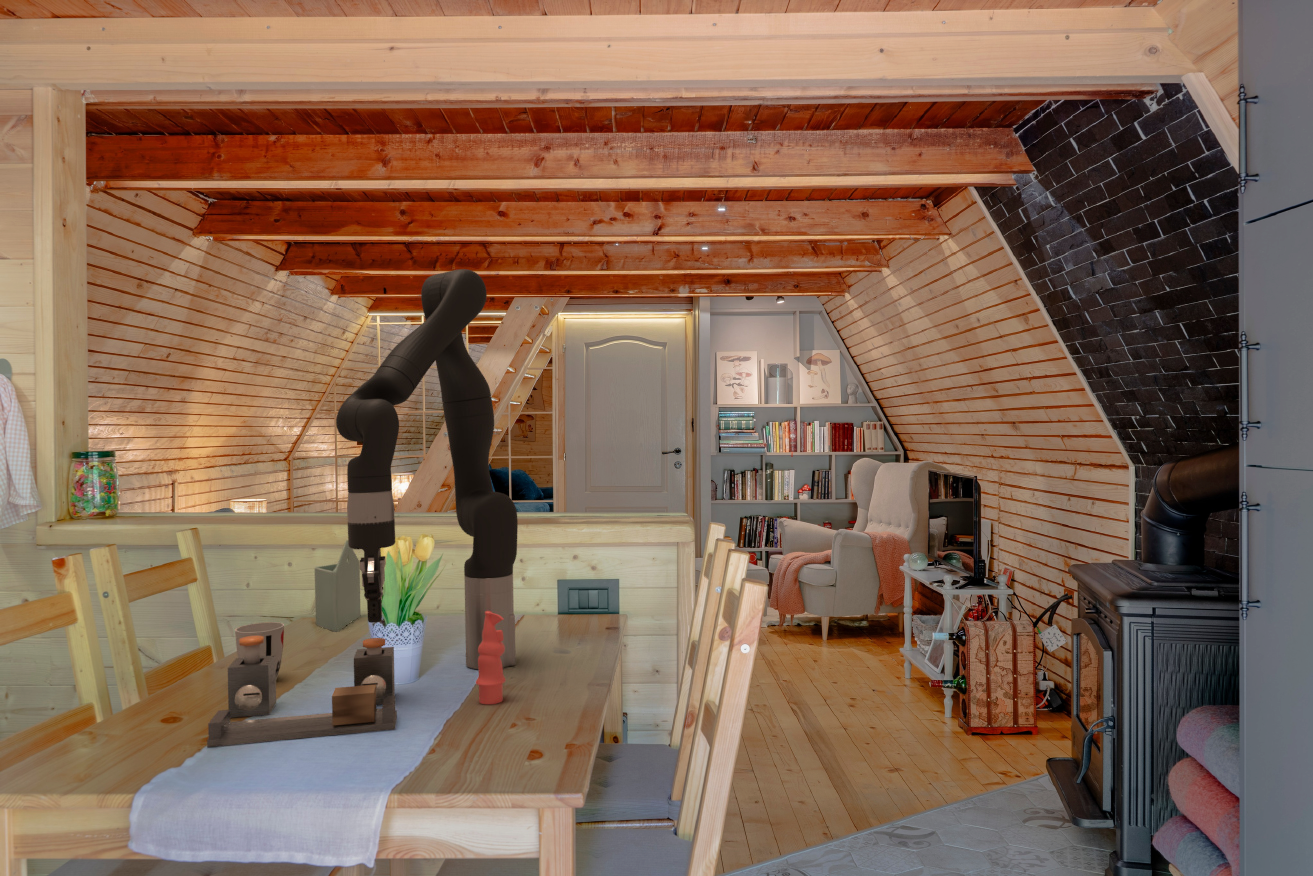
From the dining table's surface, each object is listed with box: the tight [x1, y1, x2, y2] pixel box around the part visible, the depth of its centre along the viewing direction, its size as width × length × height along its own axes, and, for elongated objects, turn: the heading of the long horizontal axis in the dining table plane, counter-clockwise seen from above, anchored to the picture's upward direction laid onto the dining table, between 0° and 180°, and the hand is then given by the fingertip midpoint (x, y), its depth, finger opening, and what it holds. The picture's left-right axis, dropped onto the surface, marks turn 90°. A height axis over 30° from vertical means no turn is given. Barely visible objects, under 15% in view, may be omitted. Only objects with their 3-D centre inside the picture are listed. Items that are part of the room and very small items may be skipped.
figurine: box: [475, 611, 506, 705], centre depth 145 cm, size 5×5×15 cm
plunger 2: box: [362, 637, 386, 655], centre depth 146 cm, size 4×4×4 cm
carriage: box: [331, 685, 378, 725], centre depth 133 cm, size 6×4×4 cm
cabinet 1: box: [227, 655, 277, 719], centre depth 141 cm, size 6×6×8 cm
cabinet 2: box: [353, 646, 396, 706], centre depth 146 cm, size 6×6×8 cm
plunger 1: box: [239, 636, 264, 664], centre depth 142 cm, size 4×4×4 cm
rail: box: [206, 694, 398, 748], centre depth 131 cm, size 26×6×3 cm, turn 104°
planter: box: [314, 539, 361, 633], centre depth 204 cm, size 16×8×20 cm, turn 1°
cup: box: [234, 621, 285, 681], centre depth 158 cm, size 8×8×10 cm
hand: (375, 621), depth 146 cm, fingers closed
